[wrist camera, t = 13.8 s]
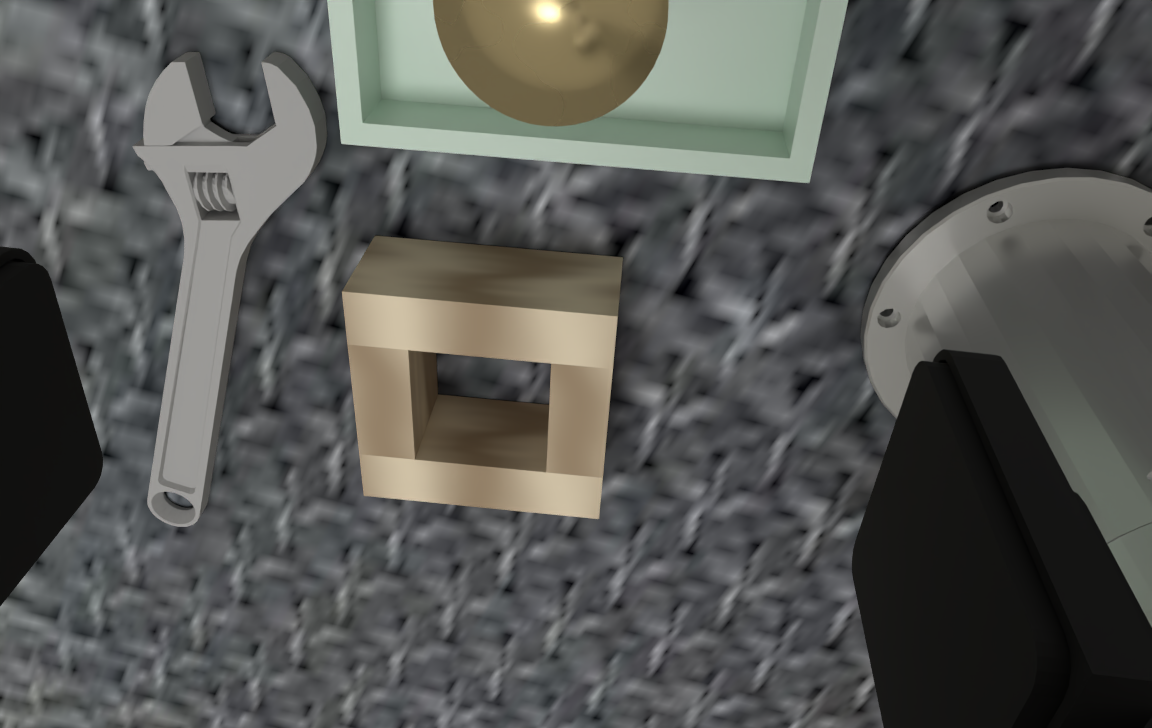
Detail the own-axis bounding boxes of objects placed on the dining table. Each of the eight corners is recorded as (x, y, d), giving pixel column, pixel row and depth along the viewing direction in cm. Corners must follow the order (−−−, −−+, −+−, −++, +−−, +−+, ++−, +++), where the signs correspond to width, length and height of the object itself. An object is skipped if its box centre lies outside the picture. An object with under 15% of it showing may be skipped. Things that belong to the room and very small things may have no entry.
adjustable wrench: (210, 513, 47) (195, 538, 46) (87, 467, 46) (68, 491, 45) (346, 85, 34) (331, 101, 32) (177, 4, 33) (153, 17, 31)
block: (623, 257, 36) (617, 316, 33) (605, 450, 42) (598, 518, 38) (375, 235, 37) (342, 291, 33) (390, 429, 42) (363, 495, 39)
